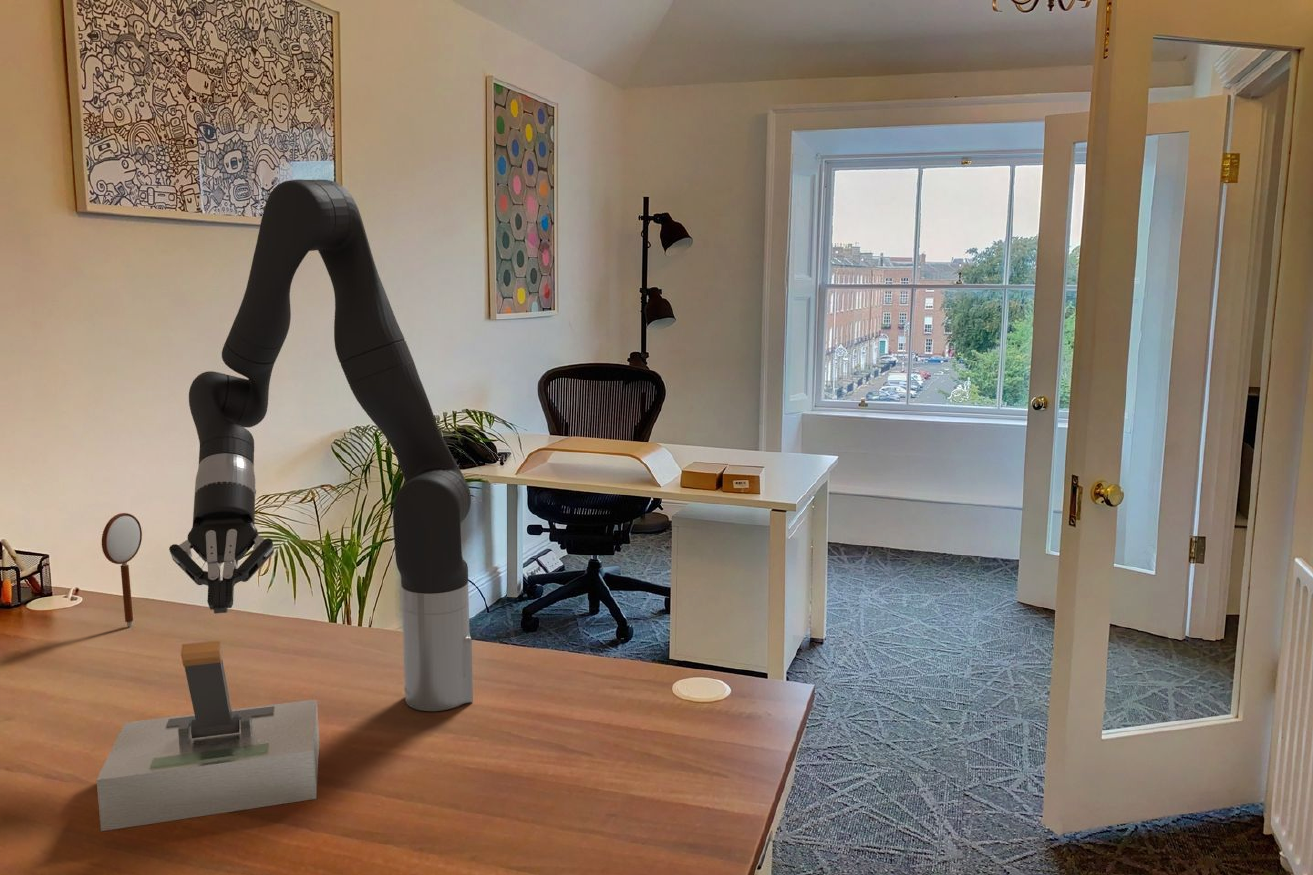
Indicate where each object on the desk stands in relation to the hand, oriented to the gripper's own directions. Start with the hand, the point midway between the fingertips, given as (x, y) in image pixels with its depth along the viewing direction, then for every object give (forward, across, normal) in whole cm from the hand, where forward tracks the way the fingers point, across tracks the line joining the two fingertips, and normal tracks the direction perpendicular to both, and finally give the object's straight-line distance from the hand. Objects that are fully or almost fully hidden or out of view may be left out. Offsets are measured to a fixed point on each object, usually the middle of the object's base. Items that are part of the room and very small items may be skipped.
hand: (220, 610), depth 118 cm
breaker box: (+20, 0, +6) cm, 21 cm away
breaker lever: (+15, 0, +1) cm, 15 cm away
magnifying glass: (-22, -20, +48) cm, 57 cm away
